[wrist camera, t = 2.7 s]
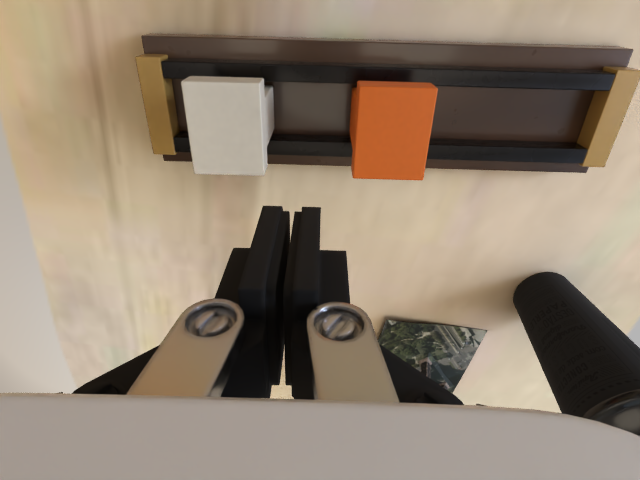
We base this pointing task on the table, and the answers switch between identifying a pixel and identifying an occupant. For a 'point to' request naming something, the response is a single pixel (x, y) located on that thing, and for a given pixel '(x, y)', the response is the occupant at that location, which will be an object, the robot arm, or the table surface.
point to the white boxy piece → (228, 124)
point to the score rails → (589, 150)
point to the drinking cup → (581, 352)
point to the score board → (452, 102)
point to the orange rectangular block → (391, 129)
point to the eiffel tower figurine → (433, 348)
